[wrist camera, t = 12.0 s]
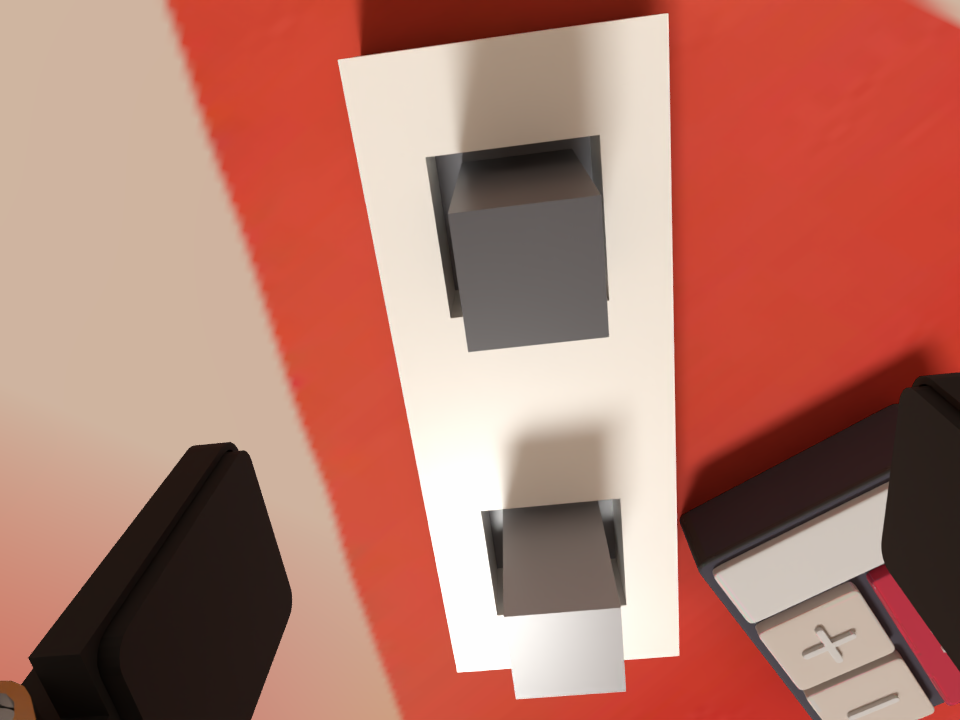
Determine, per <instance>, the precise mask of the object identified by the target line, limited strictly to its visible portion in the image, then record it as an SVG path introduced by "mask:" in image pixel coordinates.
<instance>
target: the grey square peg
mask: <svg viewBox="0 0 960 720" xmlns="http://www.w3.org/2000/svg"><path fill="white" fill-rule="evenodd" d="M503 602H504V623H505V629H506V636H507V643H508V649H509V656H510V662H511V669H512V675H513V682H514V689H515V695H516V699H527V698H541V697H554V696H568V695H582V694H596V693H610V692H624V691H626V684H625V667H624V651H623V635H622V618H621V606H620V601H619V597H618V592H617V587H616V583H615V578H614V573H613V569H612V564H611V559H610V554H609V550H608V545H607V540H606V536H605V531H604V526H603V522H602V517H601V512H600V508H599V503H598V500H597V501H587V502H576V503H565V504H554V505H543V506H532V507H521V508H510V509H503Z"/></svg>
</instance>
